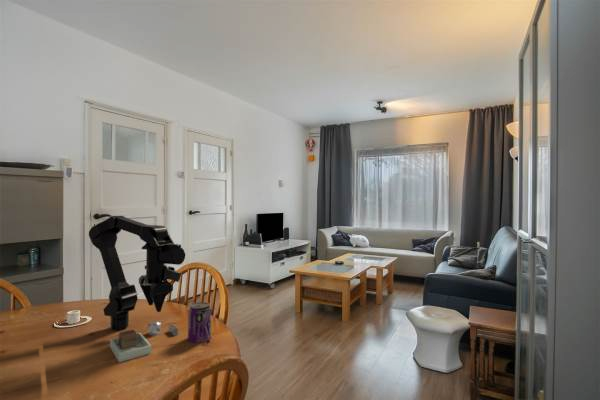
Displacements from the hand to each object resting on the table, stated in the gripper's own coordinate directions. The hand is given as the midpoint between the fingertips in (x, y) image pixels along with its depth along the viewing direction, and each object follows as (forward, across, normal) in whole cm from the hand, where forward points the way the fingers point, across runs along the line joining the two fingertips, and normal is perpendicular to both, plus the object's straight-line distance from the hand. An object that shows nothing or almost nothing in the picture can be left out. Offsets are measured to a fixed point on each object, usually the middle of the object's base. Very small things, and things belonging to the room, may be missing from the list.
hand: (154, 308), depth 110 cm
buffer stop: (+9, -4, -5) cm, 11 cm away
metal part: (+10, 0, 0) cm, 10 cm away
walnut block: (+8, -6, +9) cm, 14 cm away
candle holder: (+10, +34, +20) cm, 41 cm away
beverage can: (+10, -14, -10) cm, 20 cm away
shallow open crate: (+9, -9, +9) cm, 16 cm away
